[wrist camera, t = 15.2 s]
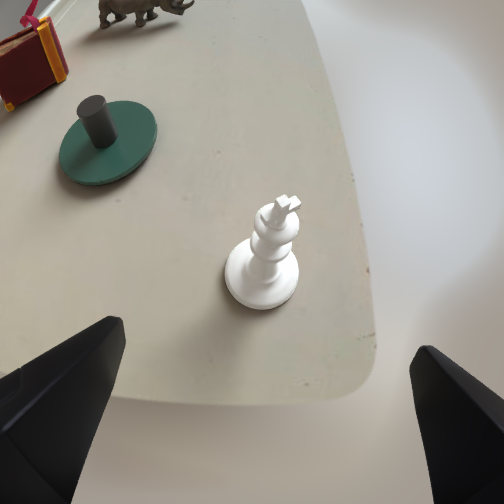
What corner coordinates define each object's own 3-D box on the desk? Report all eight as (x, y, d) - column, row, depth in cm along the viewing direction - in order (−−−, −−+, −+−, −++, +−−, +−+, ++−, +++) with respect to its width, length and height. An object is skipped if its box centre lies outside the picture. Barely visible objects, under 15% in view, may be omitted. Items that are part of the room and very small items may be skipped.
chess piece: (311, 285, 22) (368, 224, 12) (248, 323, 20) (262, 287, 11) (273, 227, 23) (298, 135, 13) (211, 260, 22) (196, 179, 12)
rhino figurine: (189, 28, 31) (186, -12, 26) (96, 31, 32) (86, -3, 26) (199, 14, 33) (198, -23, 27) (110, 17, 33) (102, -16, 27)
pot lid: (70, 206, 23) (41, 173, 18) (60, 133, 25) (39, 98, 20) (171, 162, 24) (160, 119, 19) (145, 96, 27) (134, 56, 22)
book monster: (2, 120, 26) (19, 69, 30) (68, 89, 27) (75, 44, 32) (-35, 53, 16) (-4, 13, 20) (40, 12, 18) (58, -17, 22)
